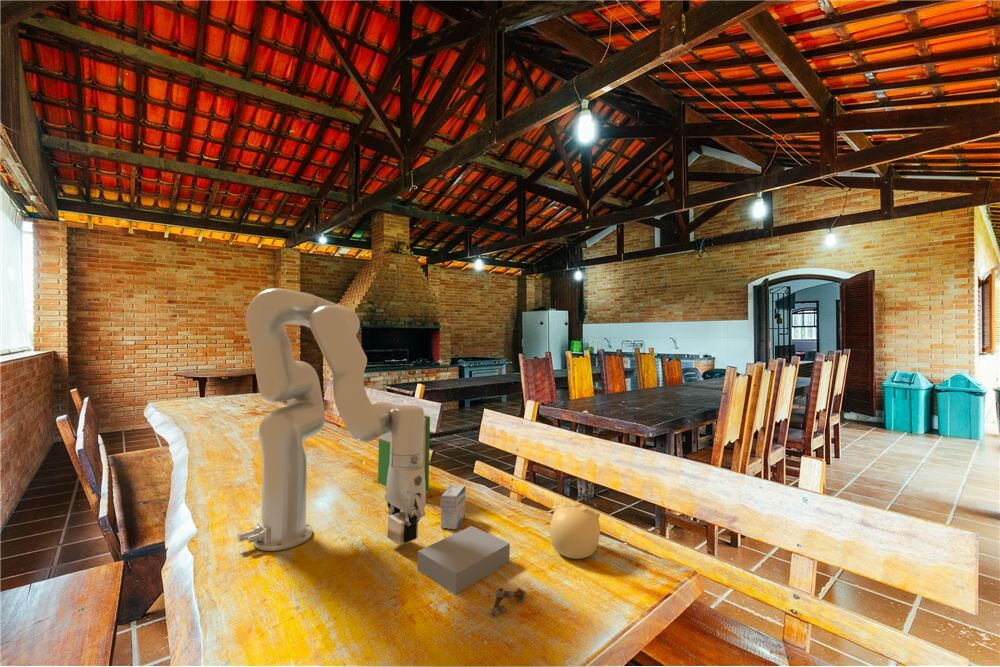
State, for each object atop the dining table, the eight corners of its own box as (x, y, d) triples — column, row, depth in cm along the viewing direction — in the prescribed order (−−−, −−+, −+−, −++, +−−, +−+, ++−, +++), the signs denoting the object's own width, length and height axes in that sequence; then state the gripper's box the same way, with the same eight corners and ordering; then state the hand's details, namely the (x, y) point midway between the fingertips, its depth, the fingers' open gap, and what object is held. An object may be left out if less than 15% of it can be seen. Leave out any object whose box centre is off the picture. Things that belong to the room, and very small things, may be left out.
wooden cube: (399, 545, 93) (400, 523, 93) (387, 537, 96) (388, 516, 96) (417, 537, 97) (418, 516, 97) (405, 530, 100) (406, 509, 100)
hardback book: (428, 492, 129) (430, 416, 129) (408, 499, 124) (410, 419, 124) (397, 478, 141) (398, 408, 141) (377, 483, 136) (379, 411, 136)
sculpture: (601, 543, 100) (602, 499, 100) (596, 569, 88) (597, 519, 88) (555, 535, 103) (555, 492, 103) (544, 559, 92) (545, 511, 92)
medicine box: (456, 530, 105) (457, 496, 105) (440, 528, 106) (440, 494, 106) (465, 517, 112) (466, 485, 112) (449, 515, 113) (450, 484, 113)
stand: (455, 594, 79) (456, 573, 79) (417, 570, 87) (417, 551, 87) (509, 561, 91) (509, 543, 91) (471, 542, 99) (471, 525, 99)
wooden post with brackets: (485, 613, 72) (493, 585, 74) (512, 612, 78) (519, 586, 79) (492, 618, 71) (500, 590, 72) (519, 617, 76) (526, 590, 78)
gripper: (442, 464, 94) (438, 544, 94) (398, 448, 105) (395, 519, 105) (415, 471, 88) (411, 556, 88) (372, 453, 99) (368, 528, 99)
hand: (402, 535), depth 96 cm, fingers closed on wooden cube, 5 cm apart
